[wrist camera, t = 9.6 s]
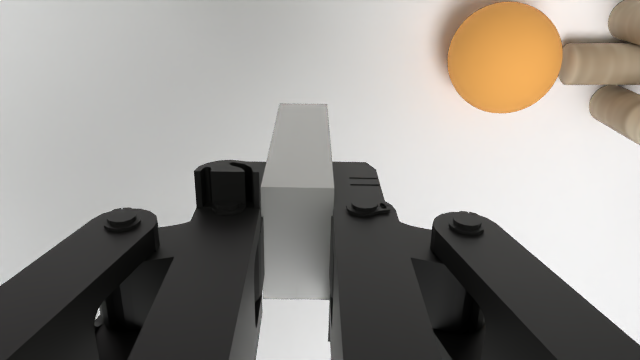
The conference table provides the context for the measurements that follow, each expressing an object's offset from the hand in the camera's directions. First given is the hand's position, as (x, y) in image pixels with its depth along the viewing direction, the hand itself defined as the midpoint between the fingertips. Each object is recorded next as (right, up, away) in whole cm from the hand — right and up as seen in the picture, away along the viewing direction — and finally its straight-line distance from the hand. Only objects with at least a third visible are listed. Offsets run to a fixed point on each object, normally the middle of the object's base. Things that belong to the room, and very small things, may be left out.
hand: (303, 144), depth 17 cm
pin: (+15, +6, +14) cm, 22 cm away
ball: (+11, +6, +12) cm, 17 cm away
